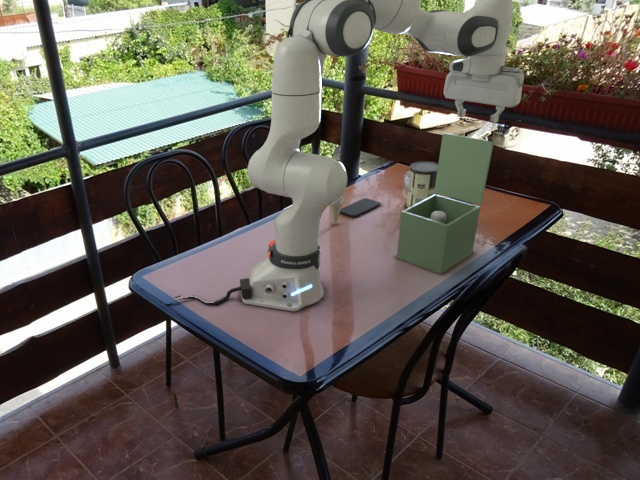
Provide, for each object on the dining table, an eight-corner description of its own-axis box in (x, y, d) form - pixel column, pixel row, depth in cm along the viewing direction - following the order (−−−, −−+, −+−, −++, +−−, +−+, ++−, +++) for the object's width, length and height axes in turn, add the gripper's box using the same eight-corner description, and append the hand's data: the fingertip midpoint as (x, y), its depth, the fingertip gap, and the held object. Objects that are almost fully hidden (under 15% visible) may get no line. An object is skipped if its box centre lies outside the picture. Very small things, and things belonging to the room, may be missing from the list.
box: (440, 274, 155) (447, 226, 147) (396, 257, 165) (401, 211, 157) (472, 253, 164) (480, 206, 156) (428, 238, 174) (434, 193, 166)
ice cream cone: (333, 219, 190) (334, 177, 182) (345, 223, 187) (347, 181, 178) (324, 225, 187) (324, 182, 179) (336, 228, 184) (337, 185, 176)
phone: (381, 202, 197) (354, 215, 189) (381, 205, 197) (354, 218, 189) (364, 197, 202) (337, 210, 194) (364, 199, 202) (337, 212, 194)
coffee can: (431, 198, 199) (436, 160, 191) (440, 210, 190) (445, 170, 183) (402, 200, 200) (406, 162, 192) (409, 212, 191) (414, 172, 183)
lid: (492, 142, 146) (502, 138, 149) (442, 133, 156) (452, 129, 159) (480, 205, 156) (489, 200, 158) (434, 192, 165) (443, 188, 168)
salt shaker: (443, 249, 166) (449, 208, 159) (445, 258, 161) (451, 217, 154) (422, 248, 167) (427, 208, 160) (424, 257, 162) (429, 216, 155)
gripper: (531, 66, 139) (520, 122, 146) (456, 59, 152) (450, 111, 159) (519, 71, 135) (508, 128, 143) (444, 63, 149) (437, 116, 156)
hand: (477, 119), depth 151 cm, fingers open, 8 cm apart
